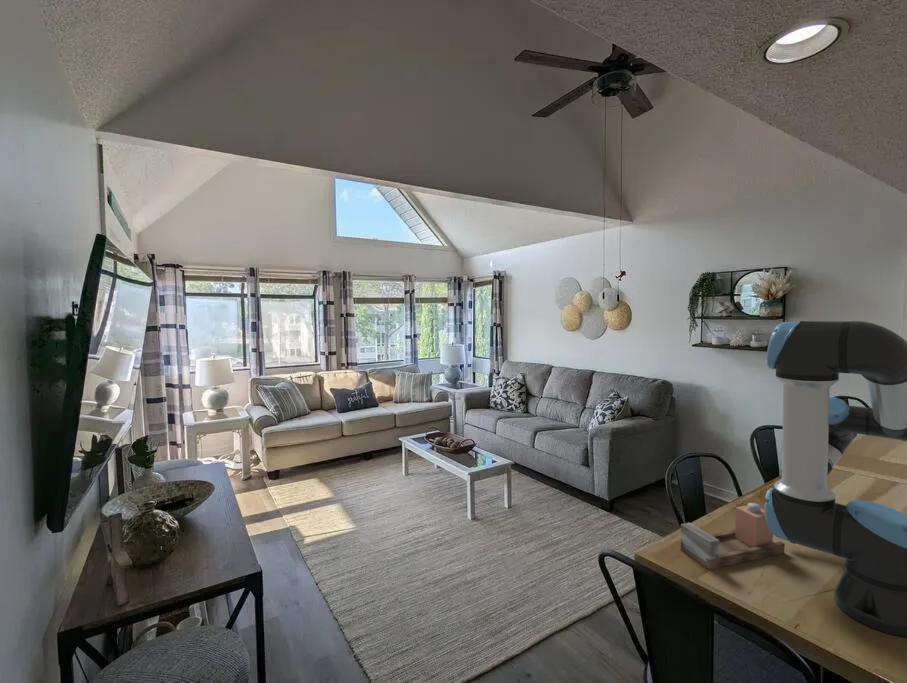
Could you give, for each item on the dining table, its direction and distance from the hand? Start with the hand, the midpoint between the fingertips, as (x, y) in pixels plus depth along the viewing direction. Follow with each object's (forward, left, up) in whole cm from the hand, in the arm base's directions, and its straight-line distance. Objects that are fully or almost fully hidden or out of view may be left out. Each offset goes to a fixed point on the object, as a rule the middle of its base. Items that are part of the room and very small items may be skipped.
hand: (773, 523), depth 126 cm
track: (-8, +13, -6) cm, 16 cm away
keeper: (-4, +6, -4) cm, 8 cm away
